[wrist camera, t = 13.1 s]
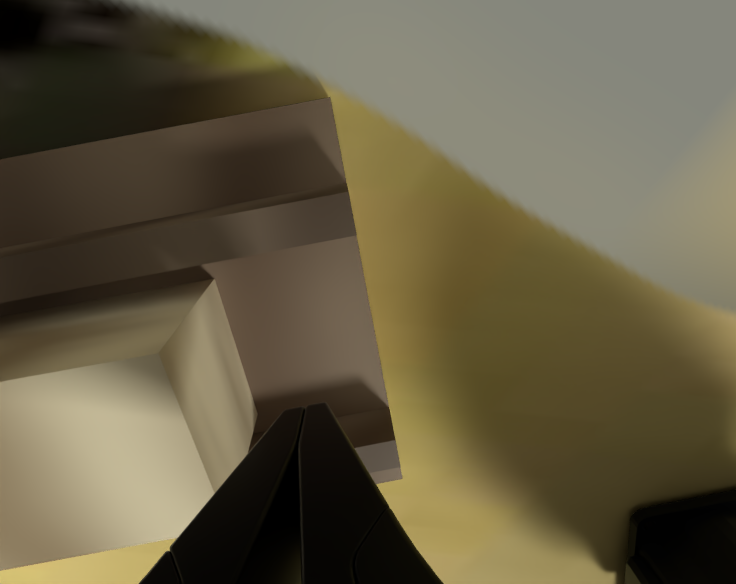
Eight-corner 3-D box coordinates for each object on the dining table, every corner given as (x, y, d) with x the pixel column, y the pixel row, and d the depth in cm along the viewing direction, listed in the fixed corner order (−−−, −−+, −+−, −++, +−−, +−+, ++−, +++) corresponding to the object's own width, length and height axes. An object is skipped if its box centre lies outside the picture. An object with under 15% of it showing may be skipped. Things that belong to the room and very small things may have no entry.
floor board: (330, 99, 11) (328, 83, 6) (398, 457, 16) (426, 600, 11) (-367, 230, 11) (-880, 310, 6) (-95, 552, 15) (-278, 738, 11)
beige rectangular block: (-34, 467, 13) (-178, 603, 9) (-120, 338, 11) (-337, 442, 8) (257, 414, 13) (228, 528, 10) (214, 278, 12) (158, 353, 8)
